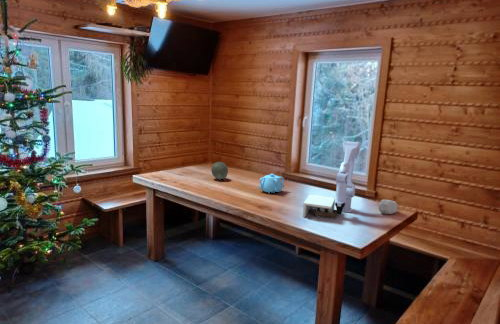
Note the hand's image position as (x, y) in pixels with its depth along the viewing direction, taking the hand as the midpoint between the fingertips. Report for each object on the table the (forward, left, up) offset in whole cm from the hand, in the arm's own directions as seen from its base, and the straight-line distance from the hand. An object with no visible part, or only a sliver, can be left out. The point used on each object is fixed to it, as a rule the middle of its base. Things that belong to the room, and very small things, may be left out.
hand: (339, 214), depth 208 cm
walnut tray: (0, -7, -1) cm, 8 cm away
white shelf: (0, -12, -1) cm, 12 cm away
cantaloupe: (-53, -103, -2) cm, 116 cm away
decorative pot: (-37, -53, -2) cm, 65 cm away
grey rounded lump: (-23, +28, -2) cm, 36 cm away
